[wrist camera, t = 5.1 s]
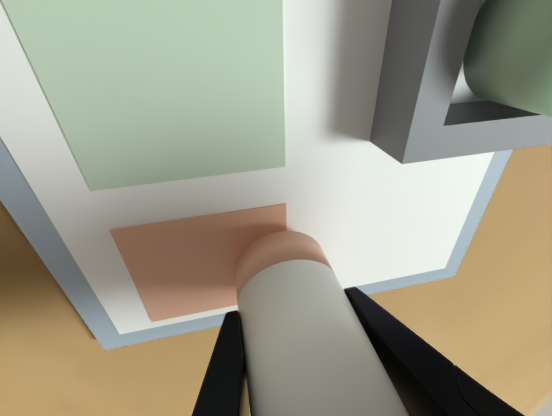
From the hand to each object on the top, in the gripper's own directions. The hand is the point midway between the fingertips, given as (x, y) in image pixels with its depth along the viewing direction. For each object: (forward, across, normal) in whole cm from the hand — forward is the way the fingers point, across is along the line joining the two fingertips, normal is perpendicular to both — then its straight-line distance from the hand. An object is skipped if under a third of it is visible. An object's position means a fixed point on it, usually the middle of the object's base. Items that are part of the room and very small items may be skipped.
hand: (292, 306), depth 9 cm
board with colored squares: (+3, -1, -4) cm, 5 cm away
